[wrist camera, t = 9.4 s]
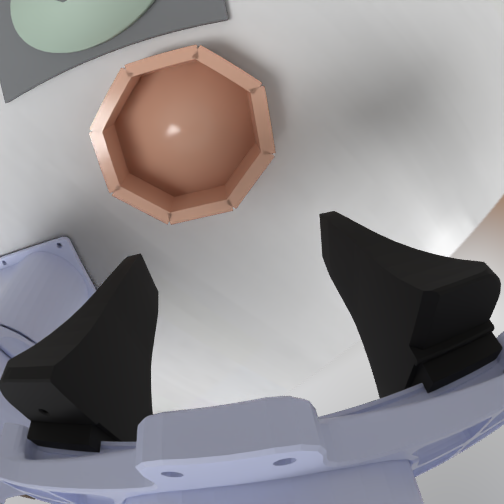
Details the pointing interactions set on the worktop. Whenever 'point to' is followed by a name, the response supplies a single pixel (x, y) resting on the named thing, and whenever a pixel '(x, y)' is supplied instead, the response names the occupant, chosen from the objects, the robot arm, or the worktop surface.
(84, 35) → the lid
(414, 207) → the worktop surface
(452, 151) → the worktop surface
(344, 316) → the worktop surface
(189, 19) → the mat
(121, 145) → the bowl
